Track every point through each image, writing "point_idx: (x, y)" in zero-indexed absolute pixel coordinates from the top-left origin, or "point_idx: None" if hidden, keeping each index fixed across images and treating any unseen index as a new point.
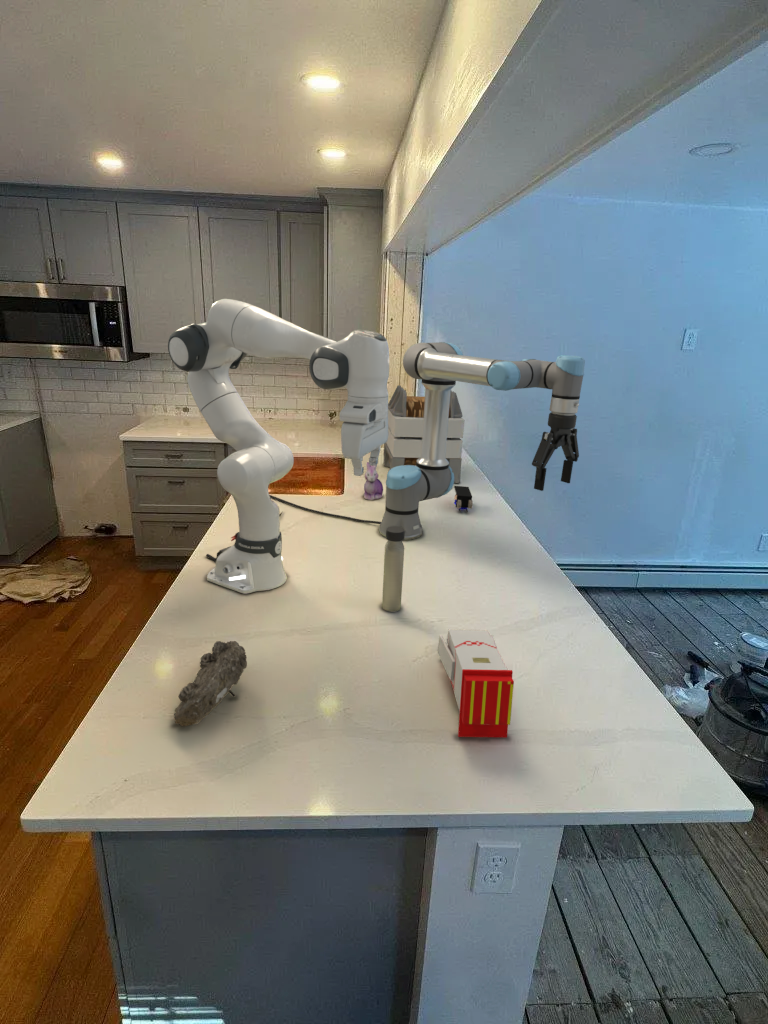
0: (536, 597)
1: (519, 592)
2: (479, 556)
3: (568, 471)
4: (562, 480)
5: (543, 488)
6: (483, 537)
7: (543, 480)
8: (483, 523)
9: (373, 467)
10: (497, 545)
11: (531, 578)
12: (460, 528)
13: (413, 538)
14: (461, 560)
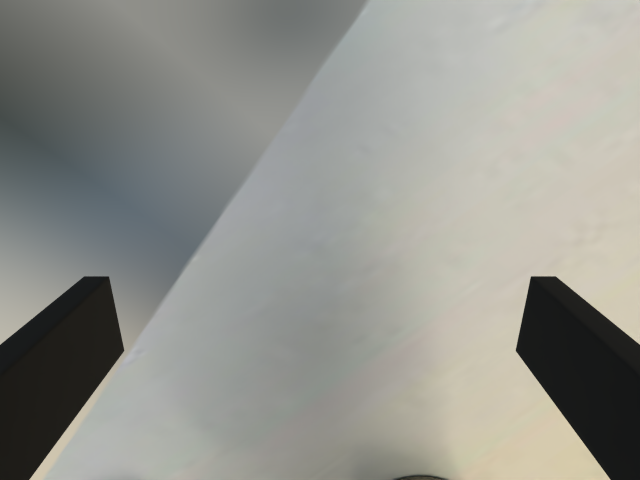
0: (484, 56)
1: (492, 112)
2: (373, 328)
3: (39, 368)
4: (116, 341)
5: (544, 286)
6: (255, 398)
7: (623, 335)
8: (174, 454)
9: None
10: (265, 346)
11: (377, 149)
12: (261, 463)
13: (427, 478)
14: (436, 338)
